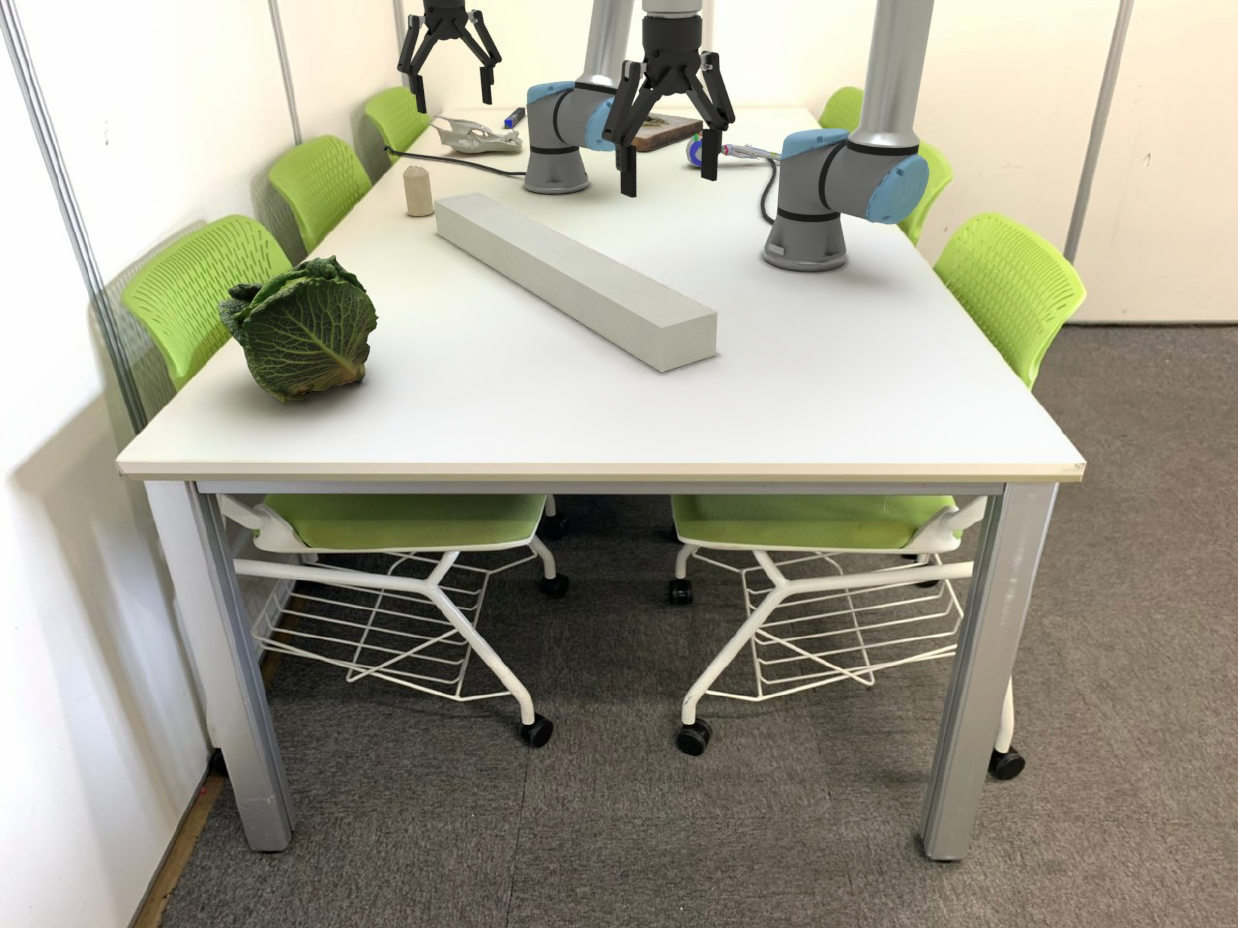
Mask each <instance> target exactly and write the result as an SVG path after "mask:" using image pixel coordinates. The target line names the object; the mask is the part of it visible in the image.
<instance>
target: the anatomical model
mask: <svg viewBox="0 0 1238 928" xmlns="http://www.w3.org/2000/svg"><path fill="white" fill-rule="evenodd" d="M433 118H437V119H440V120H441V119H442V120H445V121H447V122H448V123H449V125H450V128H451V130H448V129H444V128H441V127H439V126H437V125H435V124H433V123H432V122H430V121H428V120H427V124H428V125H429V126H431V127H432V128H434V129H435V130H436V131H437V134H438V136H439V139H440V143H441V146H449V147H450V148H451V149H453V150H454V151H458V152H460V153H463V154H479V153H484V152H491V151H492V152H493V151H495V152H496V151H497V152H518V151H521V150H522V148H523V143H524V141H523V140H522V138H520V137H519V135H520V132H519V131H518V130H515V129H514V128H513V127H512V128H511V130H512V131H508V133H507V134H503V133H495V132H493V130H492V129H490V128H489V127H488V126H486V125H483V124H482V123H478V122H477V121H473V120H468V119H464V118H452V117H448V116H444V115H440V114H433ZM474 131H478V132H481V133H482V135H480V134H478V133H476V132H474ZM486 134H487V135H486Z"/></svg>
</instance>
